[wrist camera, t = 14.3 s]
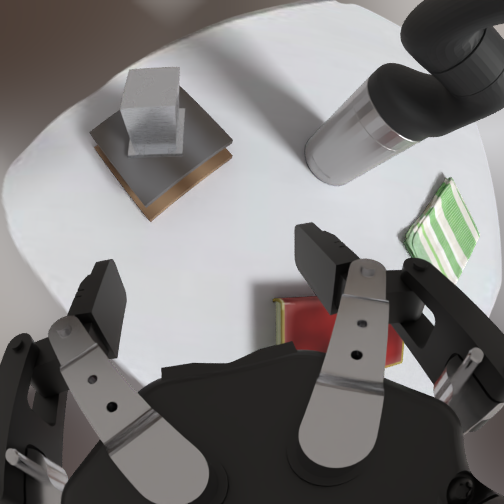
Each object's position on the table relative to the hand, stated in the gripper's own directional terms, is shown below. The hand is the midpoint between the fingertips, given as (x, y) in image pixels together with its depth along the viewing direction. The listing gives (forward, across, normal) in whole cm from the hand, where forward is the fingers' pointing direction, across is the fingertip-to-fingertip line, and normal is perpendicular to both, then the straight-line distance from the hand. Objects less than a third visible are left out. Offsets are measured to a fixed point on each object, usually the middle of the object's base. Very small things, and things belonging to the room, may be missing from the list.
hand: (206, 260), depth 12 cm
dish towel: (+21, -46, +18) cm, 54 cm away
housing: (+24, +3, -4) cm, 25 cm away
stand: (+29, +4, -1) cm, 29 cm away
